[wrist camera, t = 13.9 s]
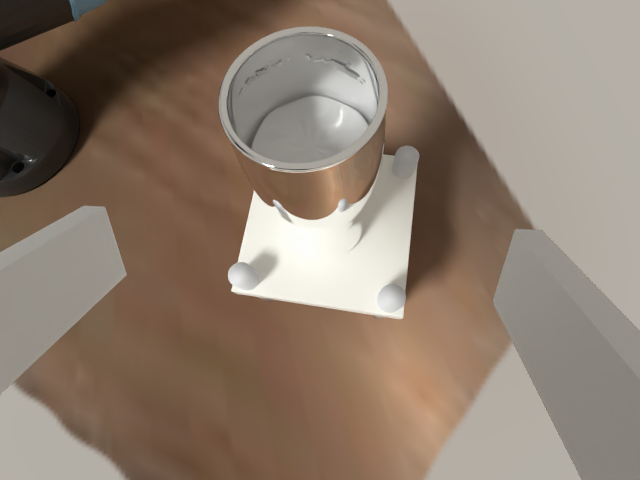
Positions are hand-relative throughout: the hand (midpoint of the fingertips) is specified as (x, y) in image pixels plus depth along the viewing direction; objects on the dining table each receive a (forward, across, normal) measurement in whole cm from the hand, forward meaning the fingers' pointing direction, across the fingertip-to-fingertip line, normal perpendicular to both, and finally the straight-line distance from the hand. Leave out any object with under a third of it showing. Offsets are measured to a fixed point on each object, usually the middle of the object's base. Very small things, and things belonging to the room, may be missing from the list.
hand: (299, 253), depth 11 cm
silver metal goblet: (+15, -1, -6) cm, 16 cm away
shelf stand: (+20, 0, -11) cm, 23 cm away
